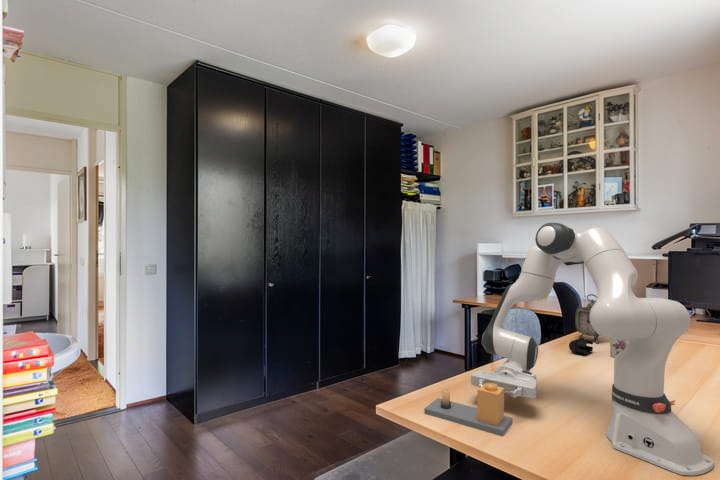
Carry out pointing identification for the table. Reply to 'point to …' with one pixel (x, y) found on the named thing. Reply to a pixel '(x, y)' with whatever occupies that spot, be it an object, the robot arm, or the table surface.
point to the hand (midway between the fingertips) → (496, 391)
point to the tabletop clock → (585, 320)
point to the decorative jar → (617, 346)
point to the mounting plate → (464, 414)
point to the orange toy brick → (490, 404)
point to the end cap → (581, 347)
